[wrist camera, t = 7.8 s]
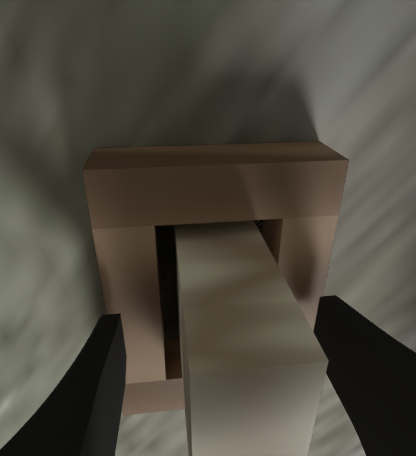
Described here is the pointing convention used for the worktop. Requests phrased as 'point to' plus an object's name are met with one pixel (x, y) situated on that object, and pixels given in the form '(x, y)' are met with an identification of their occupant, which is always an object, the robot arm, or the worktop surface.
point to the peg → (243, 346)
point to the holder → (203, 213)
